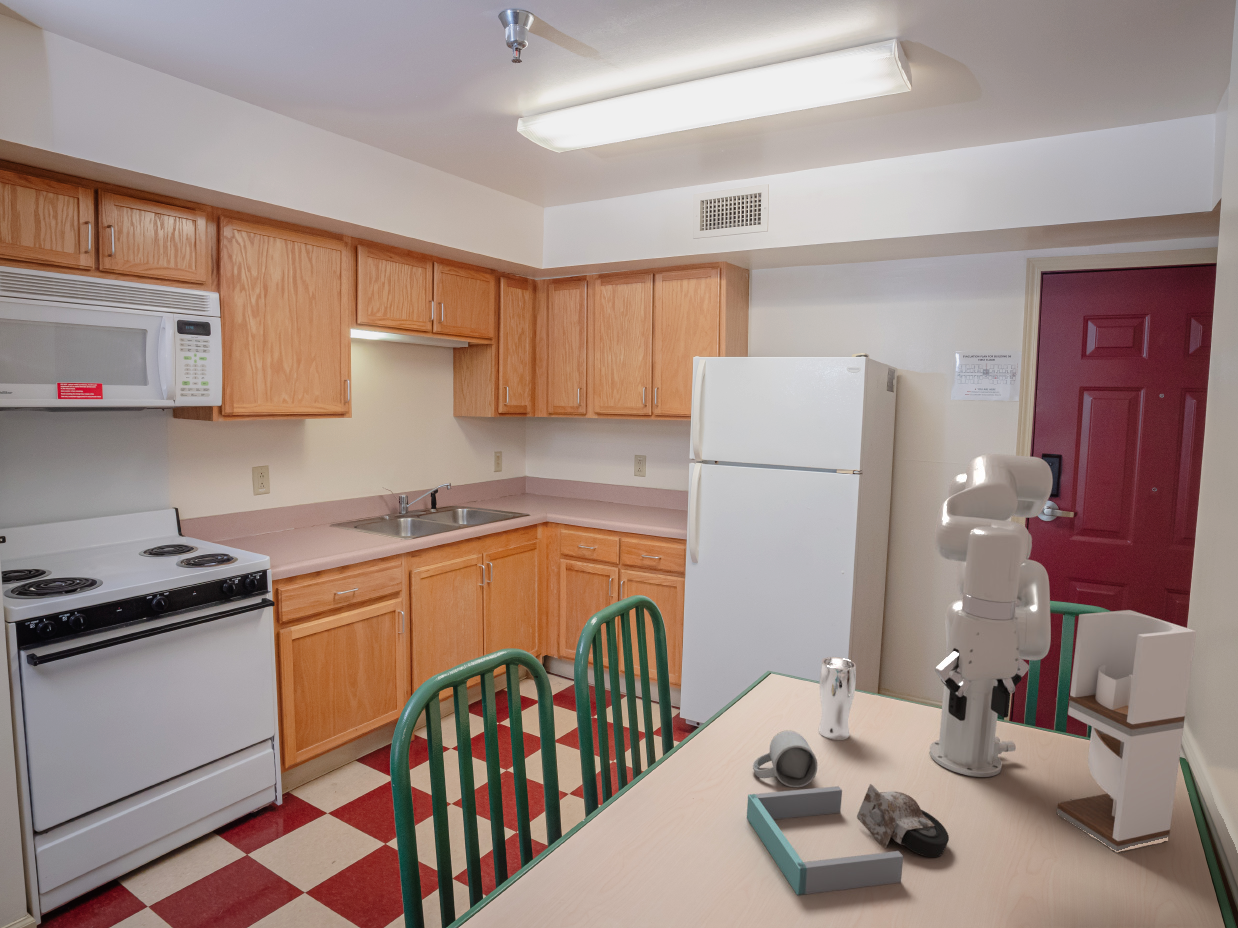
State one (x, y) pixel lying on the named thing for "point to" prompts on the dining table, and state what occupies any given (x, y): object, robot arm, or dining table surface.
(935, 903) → the dining table surface
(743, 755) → the dining table surface
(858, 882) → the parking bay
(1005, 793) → the dining table surface
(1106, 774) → the white shelf stand
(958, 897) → the dining table surface
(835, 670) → the beer glass
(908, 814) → the caster wheel
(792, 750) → the ceramic mug
